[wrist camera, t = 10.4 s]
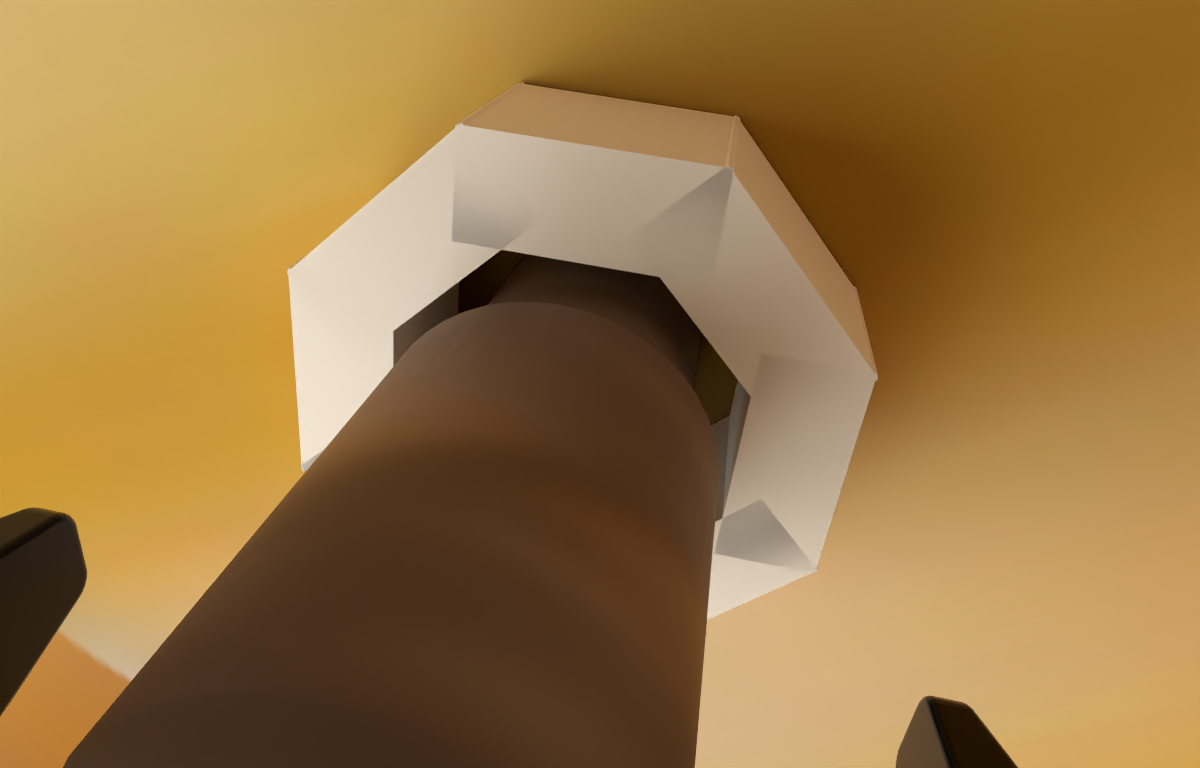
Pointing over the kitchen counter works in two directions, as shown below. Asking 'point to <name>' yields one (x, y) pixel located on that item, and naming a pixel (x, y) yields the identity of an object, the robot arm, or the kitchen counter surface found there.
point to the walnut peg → (468, 561)
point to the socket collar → (629, 243)
